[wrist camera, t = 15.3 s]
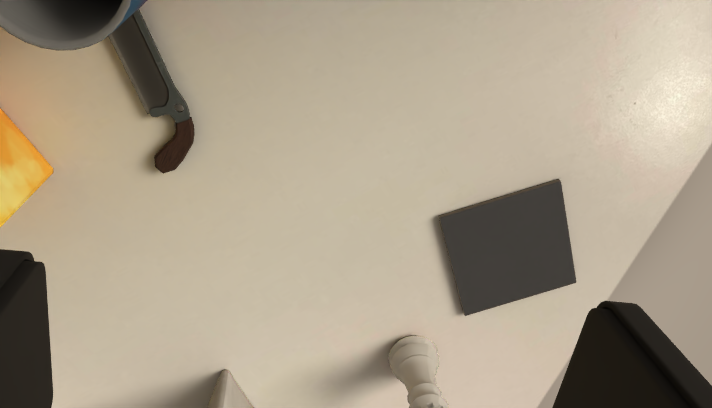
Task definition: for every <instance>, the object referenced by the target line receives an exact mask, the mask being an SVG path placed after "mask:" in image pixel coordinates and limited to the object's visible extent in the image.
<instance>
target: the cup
mask: <svg viewBox="0 0 712 408" xmlns="http://www.w3.org/2000/svg"><path fill="white" fill-rule="evenodd" d="M146 1H147V0H0V27H2V28H3V29H4V30H6V31H7V32H8V33H10V34H11V35H13V36H15V37H17V38H19V39H20V40H22V41H24V42H27V43H29V44H32V45H35V46H38V47H41V48H46V49H52V50H76V49H80V48H85V47H89V46H91V45H93V44H95V43H97V42H100V41H102V40H103V39H104V38H106V37H107V36H108V35H110V34H111V33H112V32H114V31H115V30H116V29H117V28H118V27H119V26H120V25H121V24H122V23H123V22H124V21H126V20H127V19H128V18H129V17H130V16H131V15H132V14H133V13H134V12H135V11H136V10H138V9H139V8H140V7H141V6H142V5H143V4H144V3H145V2H146Z"/></svg>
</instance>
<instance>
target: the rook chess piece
mask: <svg viewBox="0 0 712 408" xmlns="http://www.w3.org/2000/svg"><path fill="white" fill-rule="evenodd" d="M389 364H390V366H391V370H392V372H393V373H394V375H395V376H396V378H397V379H399V380H400V381H401V382H402V383H404V384H405V386H406V388H407V391H408V402H409V404H410V406H409V408H448V403H447V401H446V399H445V398H443V397H441V390H440V389H439V387H438V386H437V385H436V378H435V375H436V373H437V369H438V367H439V355H438V352H437V348H436V346H435V344H434V342H432V341H431V340H429V339H428V338H426V337H421V336H416V335H415V336H407V337H405V338H403V339H401V340H399V341H398V342H397V343H396V344H395V345H394V346H393V347H392V348H391V351H390V353H389Z"/></svg>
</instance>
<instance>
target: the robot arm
mask: <svg viewBox="0 0 712 408" xmlns="http://www.w3.org/2000/svg"><path fill="white" fill-rule="evenodd" d="M52 400H53V384H52V368H51V352H50V335H49V319H48V303H47V287H46V271H45V266H44V264H43V263H42V262H35V261H34V258H33V256H32V254H31V253H30V252H25V251H13V250H1V249H0V408H51V406H52ZM553 408H712V386H711V385H710V384H709V382H708V381H707V380H706V379H705V378H704V377H703V376H702V375H701V374H700V372H699V371H698V370H697V369H696V368H695V367H694V366H693V365H692V364H691V363H690V361H688V360H687V358H686V357H685V356H684V355H683V354H682V353H681V351H680V350H679V349H678V348H677V347H676V346H675V345H674V344H673V343H672V342H671V340H670V339H669V338H668V337H667V336H666V335H665V334H664V333H663V332H662V330H661V329H660V328H659V327H658V326H657V325H656V324H655V323H654V322H653V321H652V319H651V318H650V317H649V316H648V315H647V314H646V313H645V312H644V311H643V309H641V307H639V306H638V305H637V304H633V303H622V302H611V301H604V302H601V303H600V304H599V305H598V306H597V308H593V309H591V310H590V311H589V313H588V315H587V317H586V320H585V323H584V325H583V328H582V331H581V333H580V336H579V339H578V341H577V344H576V347H575V349H574V352H573V355H572V357H571V360H570V363H569V366H568V368H567V371H566V373H565V376H564V379H563V381H562V384H561V387H560V389H559V392H558V395H557V397H556V400H555V403H554V405H553Z"/></svg>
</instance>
